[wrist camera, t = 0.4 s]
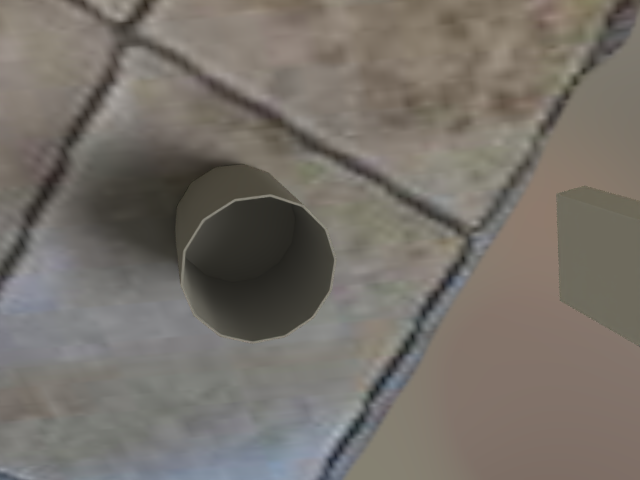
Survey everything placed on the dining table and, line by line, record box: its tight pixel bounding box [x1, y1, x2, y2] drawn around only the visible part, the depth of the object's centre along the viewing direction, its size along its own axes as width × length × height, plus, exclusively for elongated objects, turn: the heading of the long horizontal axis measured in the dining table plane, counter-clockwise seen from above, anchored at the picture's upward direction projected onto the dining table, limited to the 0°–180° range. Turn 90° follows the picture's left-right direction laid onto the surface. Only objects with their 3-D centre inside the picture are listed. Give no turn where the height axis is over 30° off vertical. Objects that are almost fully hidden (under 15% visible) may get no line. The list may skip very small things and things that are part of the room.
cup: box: [175, 164, 336, 344], centre depth 34 cm, size 8×8×10 cm
